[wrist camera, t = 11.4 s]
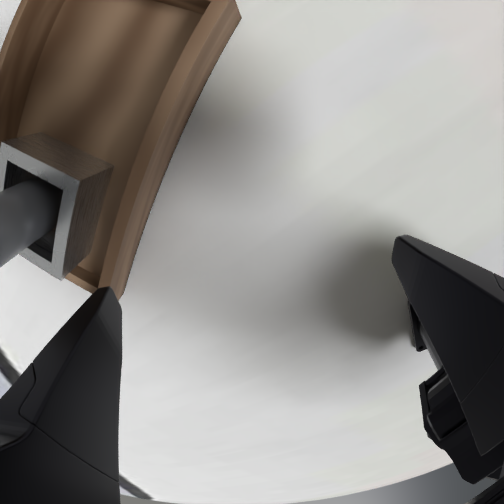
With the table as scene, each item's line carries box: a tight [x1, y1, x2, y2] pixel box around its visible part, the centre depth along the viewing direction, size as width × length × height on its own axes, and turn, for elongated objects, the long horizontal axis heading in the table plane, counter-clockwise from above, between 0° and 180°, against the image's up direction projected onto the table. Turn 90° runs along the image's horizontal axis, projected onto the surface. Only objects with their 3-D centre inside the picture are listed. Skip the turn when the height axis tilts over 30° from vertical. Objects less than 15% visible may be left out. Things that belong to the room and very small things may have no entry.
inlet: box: [0, 132, 115, 281], centre depth 18 cm, size 8×8×4 cm
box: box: [0, 0, 241, 301], centre depth 17 cm, size 15×23×4 cm, turn 153°
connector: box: [0, 176, 63, 267], centre depth 15 cm, size 4×4×13 cm
